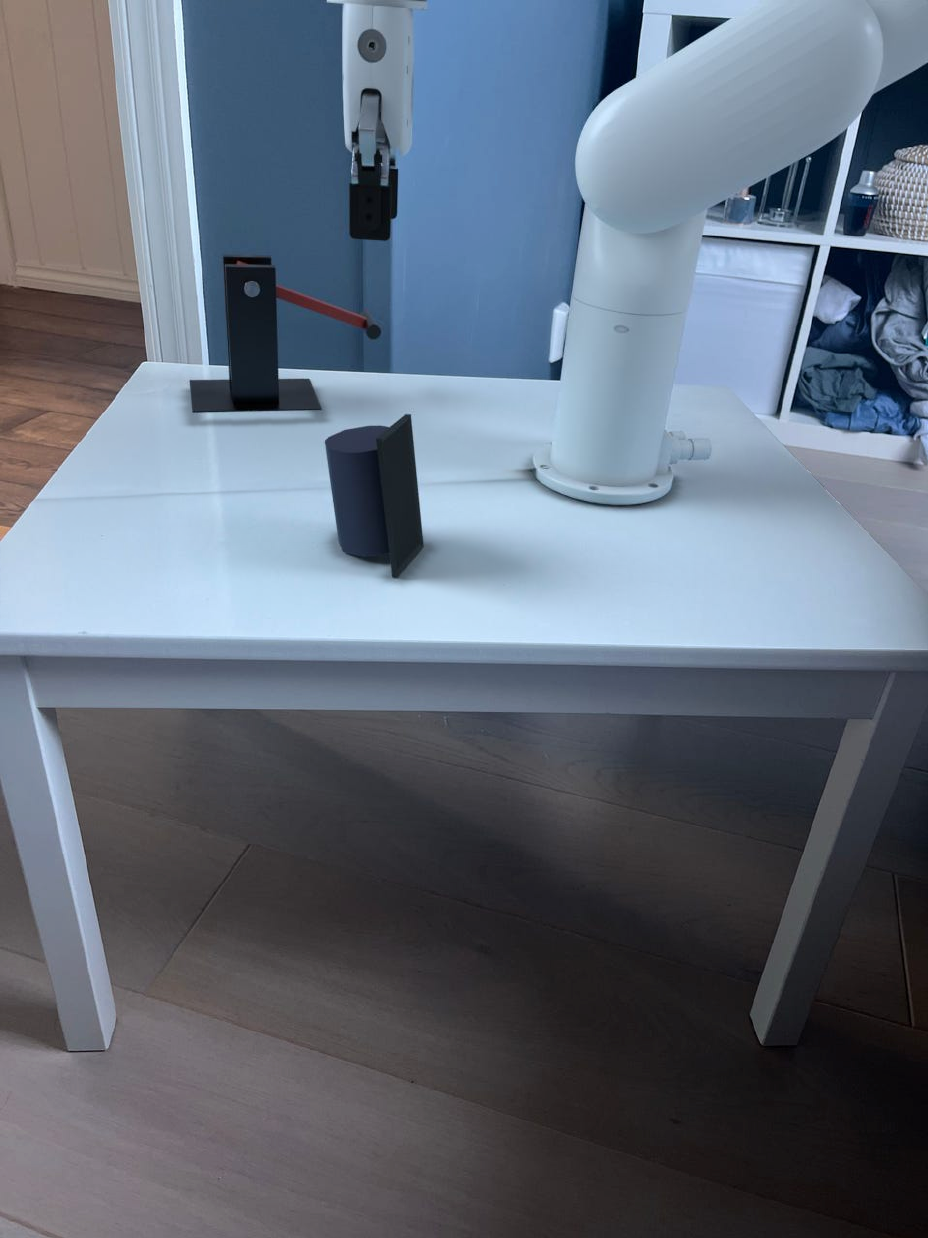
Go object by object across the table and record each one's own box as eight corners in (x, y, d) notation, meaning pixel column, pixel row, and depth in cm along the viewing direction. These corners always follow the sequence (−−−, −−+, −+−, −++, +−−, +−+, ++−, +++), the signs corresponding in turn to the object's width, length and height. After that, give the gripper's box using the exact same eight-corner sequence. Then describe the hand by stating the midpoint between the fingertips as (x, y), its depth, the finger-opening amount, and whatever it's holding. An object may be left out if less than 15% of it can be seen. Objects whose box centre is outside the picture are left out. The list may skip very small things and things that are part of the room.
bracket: (309, 389, 101) (308, 251, 94) (321, 420, 94) (320, 273, 87) (190, 391, 98) (179, 248, 91) (193, 423, 91) (181, 271, 84)
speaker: (448, 550, 73) (441, 416, 68) (395, 579, 69) (384, 440, 64) (374, 525, 77) (363, 397, 72) (322, 552, 73) (305, 419, 68)
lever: (367, 331, 98) (375, 308, 97) (376, 346, 94) (385, 322, 93) (229, 281, 92) (236, 256, 91) (232, 294, 88) (240, 269, 87)
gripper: (424, -17, 65) (415, 251, 74) (431, -10, 80) (422, 212, 89) (311, -25, 65) (316, 245, 74) (339, -17, 80) (340, 207, 89)
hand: (374, 227), depth 81 cm, fingers open, 9 cm apart
